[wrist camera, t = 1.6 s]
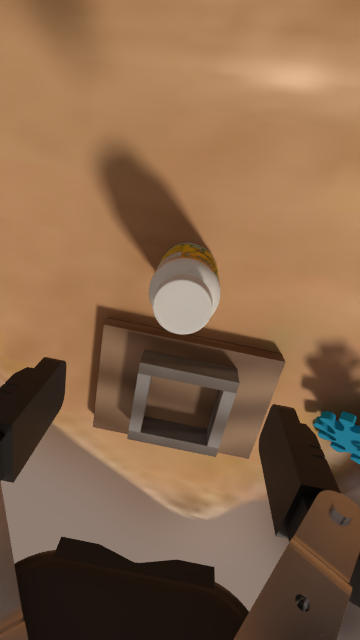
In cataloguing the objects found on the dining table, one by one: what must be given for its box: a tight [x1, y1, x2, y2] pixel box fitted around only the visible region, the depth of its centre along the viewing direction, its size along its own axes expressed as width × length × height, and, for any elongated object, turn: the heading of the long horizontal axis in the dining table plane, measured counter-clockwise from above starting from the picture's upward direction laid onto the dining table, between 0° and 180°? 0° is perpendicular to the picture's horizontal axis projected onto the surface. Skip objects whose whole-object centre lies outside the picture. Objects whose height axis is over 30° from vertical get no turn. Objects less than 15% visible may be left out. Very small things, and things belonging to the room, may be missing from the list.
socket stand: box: [93, 318, 285, 459], centre depth 34 cm, size 13×18×4 cm
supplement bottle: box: [149, 243, 220, 334], centre depth 26 cm, size 5×5×10 cm
